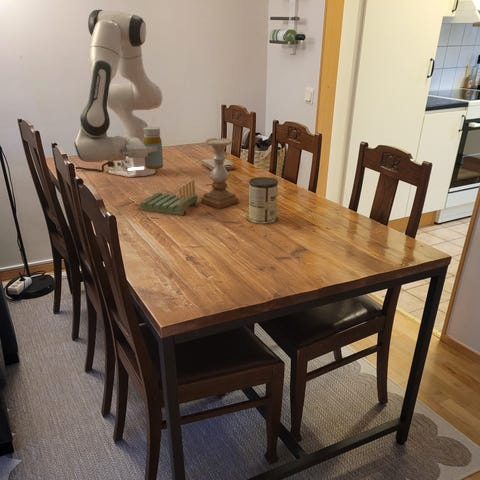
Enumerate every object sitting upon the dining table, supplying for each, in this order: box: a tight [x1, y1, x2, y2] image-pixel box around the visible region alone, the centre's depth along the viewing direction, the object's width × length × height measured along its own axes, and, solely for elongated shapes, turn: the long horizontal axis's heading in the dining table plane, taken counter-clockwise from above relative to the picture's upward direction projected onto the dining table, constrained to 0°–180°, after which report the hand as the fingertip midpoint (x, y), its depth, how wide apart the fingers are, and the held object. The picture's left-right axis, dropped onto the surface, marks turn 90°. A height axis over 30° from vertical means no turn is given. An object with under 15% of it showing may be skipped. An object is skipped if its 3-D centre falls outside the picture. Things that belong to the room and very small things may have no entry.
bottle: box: [143, 126, 164, 170], centre depth 189 cm, size 7×7×15 cm
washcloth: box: [200, 158, 235, 171], centre depth 242 cm, size 12×18×3 cm, turn 26°
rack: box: [139, 179, 198, 216], centre depth 185 cm, size 18×14×10 cm
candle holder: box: [200, 137, 239, 209], centre depth 188 cm, size 11×11×24 cm
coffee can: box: [248, 176, 279, 225], centre depth 174 cm, size 10×10×14 cm
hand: (155, 146), depth 189 cm, fingers closed on bottle, 5 cm apart
